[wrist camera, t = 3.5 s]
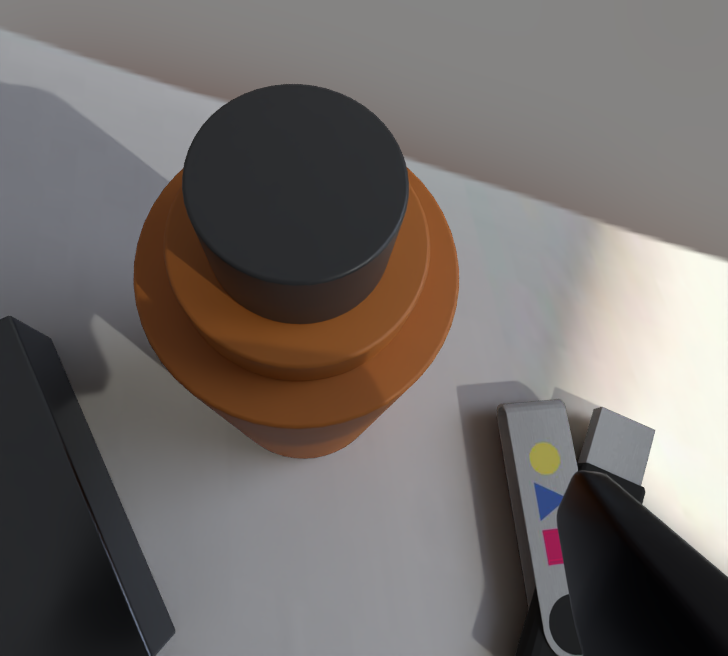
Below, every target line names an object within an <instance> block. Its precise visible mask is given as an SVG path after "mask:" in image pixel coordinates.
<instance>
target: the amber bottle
mask: <svg viewBox="0 0 728 656" xmlns="http://www.w3.org/2000/svg"><path fill="white" fill-rule="evenodd" d="M458 291H459V266H458V259H457V252H456V248H455V244H454V241H453V237H452V233H451V230H450V228H449V226H448V223H447V221H446V219H445V216H444V214H443V212H442V211H441V209H440V207H439V205H438V204H437V202H436V200H435V199H434V197H433V196H432V194H431V193H430V192H429V191H428V189H427V188H426V187H425V185H424V184H423V183H422V182H421V181H420V180H419V179H418V178H417V177H416V176H415V175H414V174H413V173H412V172H411V171H410V170H409V169H408V168H407V167H406V163H405V160H404V157H403V154H402V152H401V150H400V147H399V145H398V143H397V142H396V140H395V138H394V137H393V135H392V134H391V132H390V131H389V130H388V128H387V127H386V126H385V124H384V123H383V122H382V121H381V120H380V119H379V118H378V117H377V116H376V115H375V114H374V113H372V112H371V111H369V109H367V108H366V107H365V106H363V105H362V104H360V103H358V102H357V101H355V100H353V99H352V98H350V97H347V96H345V95H343V94H341V93H338V92H335V91H332V90H329V89H326V88H322V87H317V86H311V85H302V84H283V85H275V86H269V87H264V88H260V89H256V90H254V91H251V92H248V93H245V94H243V95H241V96H239V97H237V98H235V99H233V100H231V101H230V102H228V103H227V104H225V105H224V106H222V107H221V108H220V109H219V110H217V111H216V112H215V113H214V114H213V115H212V116H210V118H209V119H208V120H207V121H206V122H205V123H204V124H203V125H202V127H201V128H200V130H199V131H198V133H197V134H196V136H195V137H194V139H193V141H192V143H191V146H190V148H189V150H188V153H187V156H186V159H185V162H184V168H183V169H182V170H181V171H180V172H179V173H178V174H177V175H176V176H175V177H174V178H173V179H172V180H171V181H170V182H169V184H168V185H167V186H166V187H165V188H164V189H163V191H162V192H161V194H160V195H159V197H158V198H157V200H156V201H155V203H154V204H153V206H152V208H151V210H150V212H149V214H148V216H147V218H146V220H145V222H144V225H143V228H142V231H141V234H140V237H139V241H138V244H137V249H136V255H135V261H134V292H135V300H136V306H137V310H138V314H139V317H140V321H141V325H142V327H143V329H144V331H145V334H146V336H147V338H148V341H149V343H150V345H151V346H152V348H153V350H154V351H155V353H156V354H157V356H158V358H159V359H160V361H161V362H162V364H163V365H164V366H165V367H166V368H167V370H168V371H169V372H170V373H171V374H172V376H173V377H174V378H175V379H176V380H177V381H178V382H179V383H180V384H182V385H183V386H184V387H185V388H186V389H187V390H188V391H189V392H190V393H192V394H193V395H194V396H195V397H197V398H198V399H199V400H201V401H202V402H203V403H205V404H206V405H207V406H208V407H210V408H211V409H212V410H214V411H215V412H216V413H218V414H219V415H220V416H222V417H223V418H224V419H225V420H227V421H228V422H229V423H231V424H232V425H233V426H235V427H236V428H237V429H239V430H240V431H241V432H242V433H244V434H245V435H246V436H248V437H249V438H250V439H252V440H253V441H254V442H256V443H257V444H259V445H260V446H262V447H263V448H265V449H267V450H269V451H271V452H273V453H276V454H279V455H282V456H286V457H291V458H304V459H305V458H316V457H320V456H325V455H328V454H331V453H333V452H336V451H338V450H340V449H342V448H344V447H345V446H347V445H348V444H350V443H351V442H353V441H354V440H355V439H356V438H357V437H358V436H359V435H360V434H361V433H362V432H364V431H365V430H366V429H367V428H368V427H369V426H370V425H371V424H372V423H373V422H374V421H375V420H376V419H377V418H378V417H379V416H380V415H381V414H382V413H383V412H384V411H385V410H387V409H388V408H389V407H390V406H391V405H392V404H393V403H394V402H395V401H396V400H397V399H398V398H399V397H400V396H401V395H402V394H403V393H404V392H405V391H406V390H407V389H408V388H410V387H411V386H412V385H413V384H414V383H415V382H416V381H417V380H418V379H419V378H420V377H421V375H422V374H423V373H424V372H425V371H426V369H427V368H428V367H429V366H430V364H431V363H432V362H433V360H434V359H435V357H436V355H437V354H438V352H439V351H440V349H441V347H442V346H443V344H444V341H445V339H446V337H447V335H448V332H449V330H450V328H451V325H452V321H453V318H454V314H455V310H456V306H457V299H458Z"/></svg>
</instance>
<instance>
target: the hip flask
mask: <svg viewBox="0 0 728 656" xmlns="http://www.w3.org/2000/svg"><path fill="white" fill-rule="evenodd" d="M174 634H175V628H174V626H173V623H172V621H171V619H170V616H169V614H168V612H167V609H166V607H165V605H164V602H163V600H162V597H161V595H160V593H159V590H158V588H157V586H156V583H155V581H154V579H153V576H152V574H151V572H150V569H149V567H148V565H147V562H146V560H145V558H144V555H143V553H142V551H141V548H140V546H139V544H138V541H137V539H136V537H135V534H134V532H133V529H132V527H131V525H130V522H129V520H128V518H127V515H126V513H125V511H124V508H123V506H122V504H121V501H120V499H119V497H118V494H117V492H116V490H115V487H114V485H113V483H112V480H111V478H110V476H109V473H108V471H107V468H106V466H105V464H104V461H103V459H102V457H101V454H100V452H99V450H98V447H97V445H96V443H95V440H94V438H93V436H92V433H91V431H90V429H89V426H88V424H87V422H86V419H85V417H84V415H83V412H82V410H81V408H80V405H79V403H78V400H77V398H76V396H75V393H74V391H73V389H72V386H71V384H70V382H69V379H68V377H67V375H66V372H65V370H64V368H63V365H62V363H61V361H60V358H59V356H58V354H57V351H56V349H55V347H54V344H53V342H52V339H51V338H49V337H48V336H46V335H44V334H42V333H40V332H39V331H37V330H35V329H33V328H32V327H30V326H28V325H26V324H24V323H23V322H21V321H19V320H17V319H16V318H14V317H12V316H7V317H5V318H2V319H0V656H155V655H156V654H157V653H158V652H159V651H160V650H161V649H162V647H163V646H164V645H165V644H166V643H167V642H168V641H169V640H170V638H171V637H172V636H173V635H174Z"/></svg>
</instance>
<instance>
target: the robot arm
mask: <svg viewBox="0 0 728 656" xmlns="http://www.w3.org/2000/svg"><path fill="white" fill-rule="evenodd" d="M556 519H557V529H558V534H559V540H560V546H561V552H562V557H563V563H564V569H565V574H566V580H567V586H568V592H569V597H570V603H571V609H572V614H573V618H574V623H575V628H576V631H577V635H578V639H579V643H580V646H581V650H582V654H583V656H728V577H727V576H726V575H725V574H724V573H722V572H721V571H720V570H719V569H718V568H717V567H715V566H714V565H713V564H712V563H711V562H709V561H708V560H707V559H706V558H705V557H704V556H702V555H701V554H700V553H699V552H698V551H696V550H695V549H694V548H693V547H692V546H691V545H689V544H688V543H687V542H686V541H685V540H683V539H682V538H681V537H680V536H679V535H678V534H676V533H675V532H674V531H673V530H672V529H670V528H669V527H668V526H667V525H666V524H665V523H663V522H662V521H661V520H660V519H659V518H657V517H656V516H655V515H654V514H653V513H652V512H650V511H649V510H648V509H647V508H646V507H645V506H643V505H642V504H641V503H640V502H639V501H637V500H636V499H635V498H634V497H633V496H632V495H630V494H629V493H628V492H627V491H626V490H624V489H623V488H622V487H621V486H620V485H619V484H617V483H616V482H615V481H614V480H613V479H611V478H610V477H609V476H608V475H606V474H604V473H600V472H592V471H584V470H580V471H577V472H575V473H574V474H573V476H572V478H571V480H570V482H569V484H568V487H567V489H566V491H565V493H564V496H563V498H562V500H561V502H560V505H559V507H558V510H557V518H556Z"/></svg>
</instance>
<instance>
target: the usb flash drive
mask: <svg viewBox="0 0 728 656" xmlns="http://www.w3.org/2000/svg"><path fill="white" fill-rule="evenodd" d="M497 421H498V427H499V433H500V439H501V445H502V451H503V457H504V463H505V469H506V475H507V481H508V487H509V493H510V499H511V505H512V511H513V517H514V523H515V529H516V535H517V541H518V547H519V553H520V560H521V566H522V572H523V578H524V584H525V590H526V596H527V602H528V608H529V610H528V614H527V617H526V620H525V624H524V627H523V631H522V634H521V637H520V641H519V644H518V648H517V651H516V654H515V656H583V654H582V650H581V646H580V643H579V639H578V635H577V631H576V628H575V623H574V618H573V614H572V609H571V603H570V597H569V592H568V586H567V580H566V574H565V569H564V563H563V557H562V552H561V546H560V540H559V534H558V529H557V519H556V518H557V510H558V507H559V505H560V502H561V500H562V498H563V496H564V493H565V491H566V489H567V487H568V484H569V482H570V480H571V478H572V476H573V474H574V473H575V472H577V471H580V470H584V471H592V472H600V473H604V474H606V475H608V476H609V477H610V478H611V479H613V480H614V481H615V482H616V483H617V484H619V485H620V486H621V487H622V488H623V489H624V490H626V491H627V492H628V493H629V494H630V495H632V496H633V497H634V498H635V499H636V500H637V501H639V502H640V503H641V504H642V503H643V499H644V495H645V489H644V487H642V486H641V484H642V480H643V476H644V472H645V468H646V464H647V461H648V457H649V453H650V449H651V445H652V441H653V437H654V434H655V430H654V429H652V428H649V427H647V426H645V425H642V424H640V423H638V422H636V421H633V420H631V419H629V418H627V417H624V416H622V415H620V414H617V413H615V412H613V411H611V410H608V409H606V408H604V407H600V408H596V409H594V410H593V414H592V417H591V420H590V424H589V427H588V431H587V434H586V437H585V441H584V444H583V447H582V451H581V454H580V458H579V461H578V463H577V462H576V457H575V452H574V447H573V442H572V437H571V432H570V427H569V422H568V417H567V412H566V407H565V405H564V403H563V402H562V401H561V400H560V399H555V400H544V401H533V402H522V403H511V404H501V405H499V406H498V408H497Z"/></svg>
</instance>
